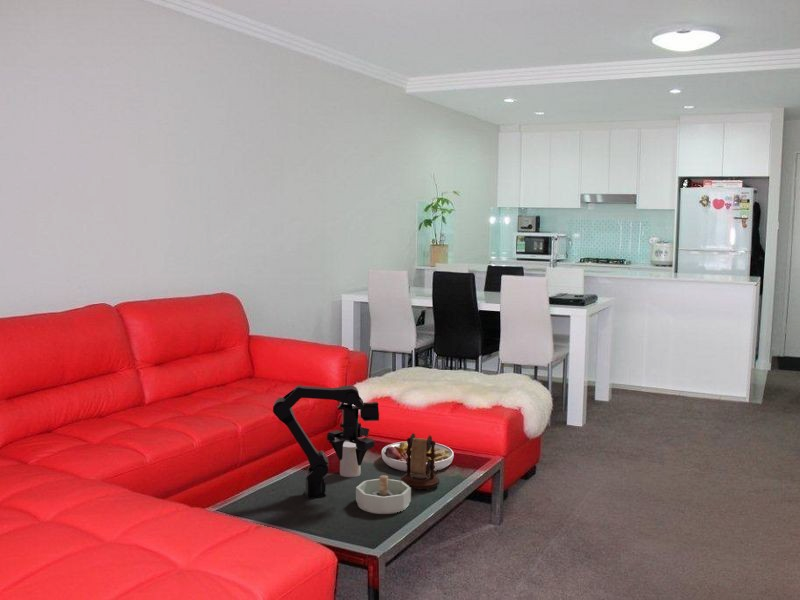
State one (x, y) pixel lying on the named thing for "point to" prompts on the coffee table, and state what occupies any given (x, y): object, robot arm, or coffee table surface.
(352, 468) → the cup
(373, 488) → the octagonal white bin
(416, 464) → the scroll
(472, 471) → the coffee table surface
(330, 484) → the coffee table surface
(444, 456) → the bowl
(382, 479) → the beige rounded cylinder
